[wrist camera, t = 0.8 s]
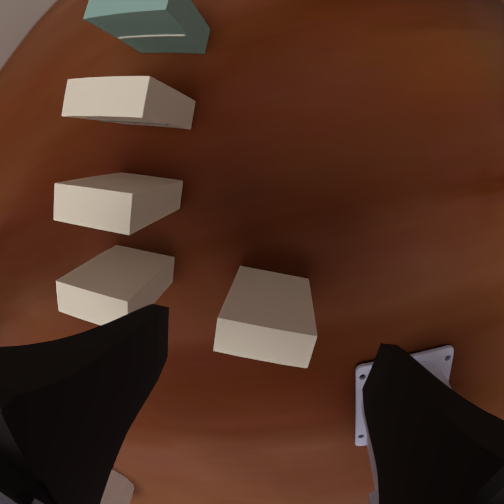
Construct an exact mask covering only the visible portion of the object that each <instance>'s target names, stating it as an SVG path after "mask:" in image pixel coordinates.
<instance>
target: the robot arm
mask: <svg viewBox="0 0 504 504" xmlns="http://www.w3.org/2000/svg"><path fill="white" fill-rule="evenodd" d="M168 318H169V307H164V306H160V305H156V304H150V305H147V306H145V307H142V308H140V309H138V310H135V311H133V312H131V313H129V314H127V315H124V316H122V317H120V318H118V319H115V320H113V321H111V322H109V323H106V324H103V325H101V326H98V327H96V328H93V329H90V330H88V331H85V332H82V333H79V334H76V335H73V336H69V337H65V338H61V339H58V340H53V341H48V342H42V343H36V344H30V345H22V346H9V347H0V504H100V503H101V499H102V496H103V493H104V490H105V487H106V484H107V481H108V479H109V476H110V473H111V470H112V468H113V465H114V463H115V460H116V457H117V455H118V453H119V450H120V448H121V445H122V443H123V441H124V438H125V436H126V434H127V432H128V430H129V428H130V426H131V424H132V423H133V421H134V419H135V418H136V416H137V414H138V413H139V411H140V409H141V408H142V406H143V404H144V403H145V401H146V399H147V397H148V396H149V394H150V392H151V391H152V389H153V387H154V386H155V384H156V382H157V380H158V378H159V376H160V374H161V371H162V369H163V366H164V364H165V361H166V359H167V351H168ZM453 354H454V349H453V347H452V346H451V345H446V346H443V347H439V348H435V349H431V350H426V351H422V352H418V353H414V354H408V353H407V352H406V351H404V350H403V349H402V348H400V347H399V346H397V345H391V344H382V343H381V345H380V347H379V350H378V352H377V355H376V357H375V360H374V362H369V363H364V364H360V365H358V366H357V367H356V369H355V390H356V405H355V445H356V446H364V445H367V448H368V453H369V459H370V464H371V469H372V474H373V480H374V486H375V491H374V492H372V493H371V494H369V500H370V504H504V420H502V419H500V418H498V417H496V416H494V415H492V414H490V413H488V412H486V411H484V410H482V409H481V408H479V407H477V406H476V405H474V404H472V403H471V402H469V401H468V400H466V399H465V398H463V397H462V396H460V395H459V394H457V393H456V392H455V391H453V390H452V388H451V386H450V384H449V383H448V382H449V377H450V372H451V366H452V360H453ZM448 355H449V356H448ZM446 356H448V357H447V358H446ZM362 374H365V375H364V376H362V377H360V375H362Z"/></svg>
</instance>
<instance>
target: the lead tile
mask: <svg viewBox="0 0 504 504" xmlns="http://www.w3.org/2000/svg"><path fill="white" fill-rule="evenodd" d="M316 339H317V330H316V323H315V316H314V310H313V303H312V296H311V290H310V284H309V279H308V278H302V277H297V276H292V275H286V274H281V273H276V272H271V271H265V270H260V269H255V268H250V267H245V266H240V267H239V269H238V272H237V274H236V276H235V279H234V281H233V283H232V286H231V288H230V290H229V293H228V295H227V297H226V300H225V302H224V304H223V306H222V309H221V311H220V313H219V316H218V319H217V327H216V334H215V341H214V349H213V351H216V352H221V353H226V354H230V355H235V356H240V357H245V358H250V359H255V360H261V361H266V362H272V363H277V364H283V365H289V366H295V367H302V368H308V364H309V361H310V358H311V355H312V352H313V349H314V346H315V342H316Z"/></svg>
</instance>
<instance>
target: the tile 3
mask: <svg viewBox="0 0 504 504" xmlns="http://www.w3.org/2000/svg"><path fill="white" fill-rule="evenodd" d="M182 187H183V180H176V179H169V178H161V177H154V176H146V175H139V174H131V173H122V172H121V173H114V174H107V175H100V176H94V177H87V178H81V179H75V180H70V181H64V182H58V183H55V190H54V220H56V221H61V222H66V223H70V224H75V225H80V226H85V227H90V228H95V229H100V230H105V231H110V232H115V233H120V234H125V235H131V234H133V233H135V232H136V231H138V230H140V229H142V228H144V227H146V226H148V225H150V224H152V223H153V222H155V221H157V220H159V219H161V218H163V217H165V216H167V215H169V214H171V213H173V212H175V211H177V210H179V209H180V203H181V194H182Z"/></svg>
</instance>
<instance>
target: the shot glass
mask: <svg viewBox="0 0 504 504" xmlns="http://www.w3.org/2000/svg"><path fill="white" fill-rule="evenodd" d="M133 491H134V486H133V484H132V483H131V482H130V481H129V480H128V479H127V478H126V477H124V476H123V475H121V474H120V473H118V472H116V471H114V470H111V473H110V476H109V479H108V481H107V484H106V487H105V490H104V493H103V496H102V499H101V503H100V504H130V501H131V498H132V495H133Z"/></svg>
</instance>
